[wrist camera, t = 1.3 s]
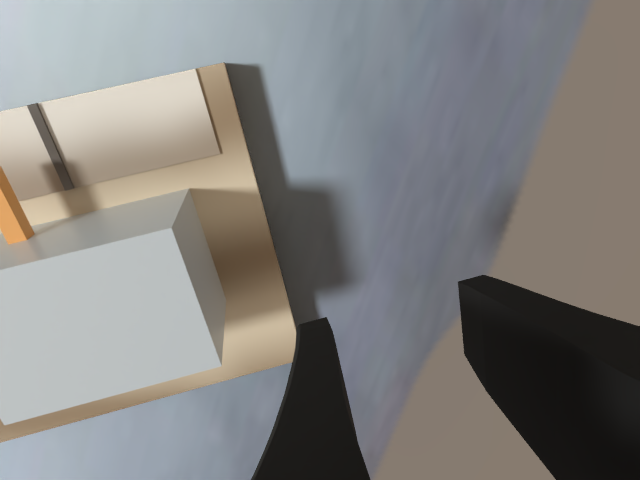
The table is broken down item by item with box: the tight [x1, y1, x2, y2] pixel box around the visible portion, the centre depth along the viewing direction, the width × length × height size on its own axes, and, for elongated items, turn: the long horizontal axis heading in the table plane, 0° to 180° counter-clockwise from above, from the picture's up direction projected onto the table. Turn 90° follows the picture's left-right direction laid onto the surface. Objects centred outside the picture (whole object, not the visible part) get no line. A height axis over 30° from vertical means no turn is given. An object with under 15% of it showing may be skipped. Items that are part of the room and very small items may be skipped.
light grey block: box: [0, 166, 226, 425], centre depth 15 cm, size 7×11×4 cm
